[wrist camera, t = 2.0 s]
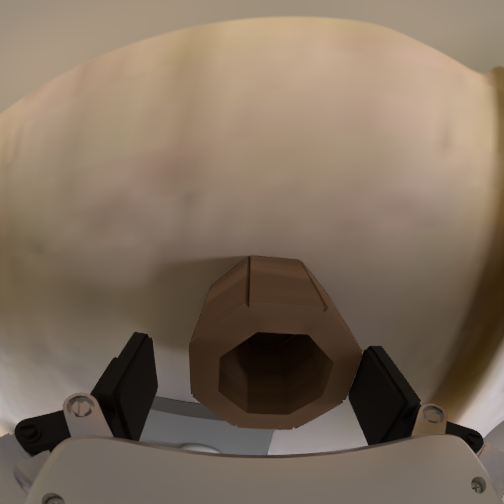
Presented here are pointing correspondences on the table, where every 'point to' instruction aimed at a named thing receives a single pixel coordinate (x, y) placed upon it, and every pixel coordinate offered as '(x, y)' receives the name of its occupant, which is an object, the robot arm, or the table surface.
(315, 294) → the walnut ring
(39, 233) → the table surface
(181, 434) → the post stand
